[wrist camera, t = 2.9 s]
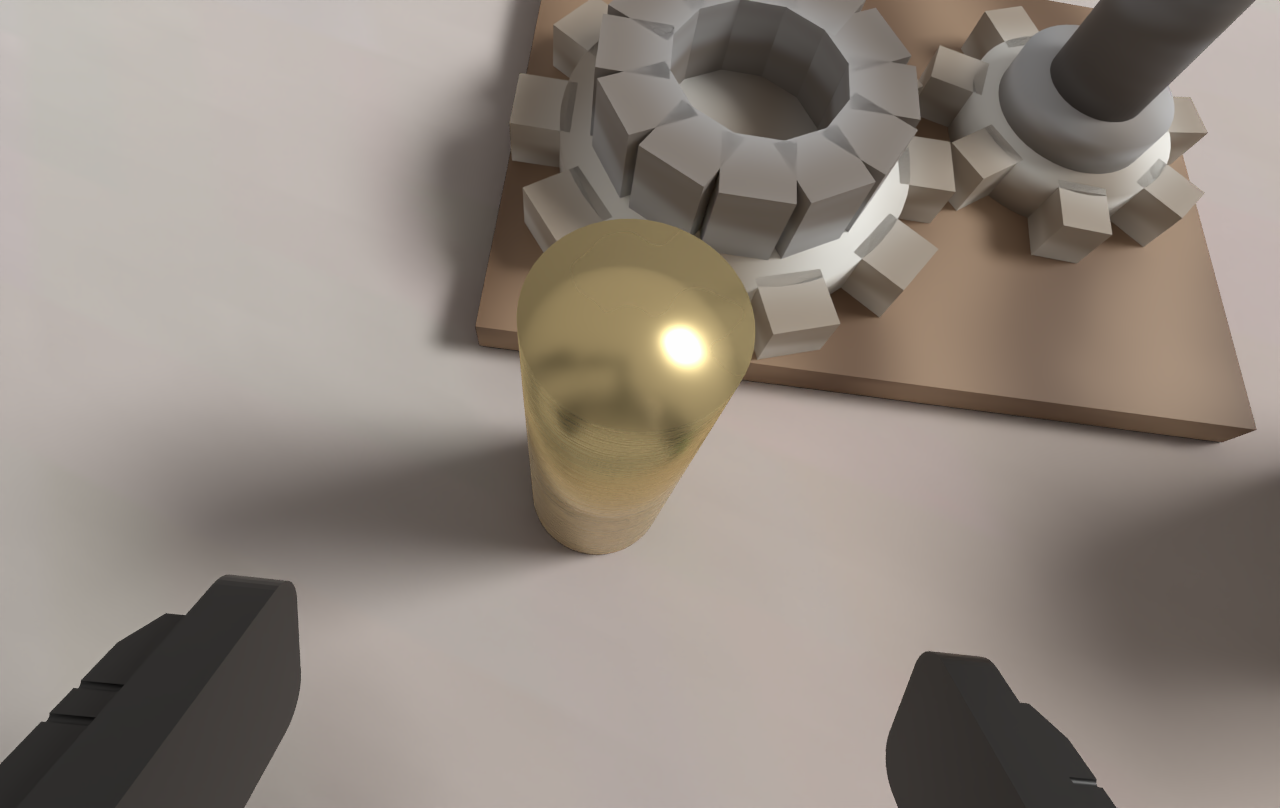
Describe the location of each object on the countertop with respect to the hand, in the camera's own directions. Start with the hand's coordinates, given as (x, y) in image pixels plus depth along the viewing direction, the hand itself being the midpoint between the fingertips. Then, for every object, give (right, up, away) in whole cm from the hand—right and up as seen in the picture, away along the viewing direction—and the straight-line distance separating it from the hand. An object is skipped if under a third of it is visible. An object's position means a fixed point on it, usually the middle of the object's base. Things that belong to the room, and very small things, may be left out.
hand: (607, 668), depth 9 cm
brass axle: (-1, +1, +11) cm, 11 cm away
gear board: (+8, +12, +16) cm, 22 cm away
